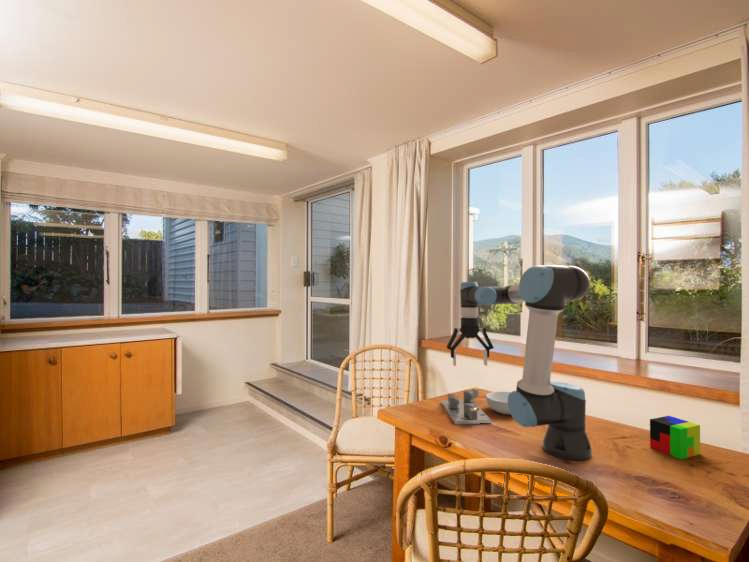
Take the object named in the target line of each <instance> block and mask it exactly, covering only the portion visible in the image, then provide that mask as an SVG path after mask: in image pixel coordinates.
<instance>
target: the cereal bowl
mask: <svg viewBox="0 0 749 562" xmlns="http://www.w3.org/2000/svg"><path fill="white" fill-rule="evenodd" d="M511 392H512V391H505V390H502V391H500V390H499V391H491V392H488V393H487V394H486V403H487V406H488V407H489V408H490V409H491V410H493V411H495V412H497V413H498V414H500V413H501V415H505V414H506V416H507V415H508V416H509V415H511V413H510V411H509V408H508V396H509V394H510V393H511ZM511 416H512V415H511Z"/></svg>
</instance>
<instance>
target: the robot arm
mask: <svg viewBox="0 0 749 562" xmlns="http://www.w3.org/2000/svg"><path fill="white" fill-rule="evenodd" d="M590 286H591V280H590V278H589V275H588V273H587V272H586V271H585V270H583V269H582V268H580V267H578V266H574V265H546V264H545V265H544V264H543V265H534V266H530V267H529V268H527V269H526V270H525V271H524V272H523V274H522V275H521V277H520V279H519V283H516V284H515V283H514V284H511V285H504V286H503V285H502V286H499V285H498V286H497V285H496V286H495V285H494V286H486V285H485V286H479V283H478V282H477V281H463V282H461V283H460V290H459V292H460V294H459V295H460V316H461V317H460V327H459V328H457V327H453V330H452V331H453V332H452V334H451V336H450V339H449V341H448V342H447V345H446V346H445V347H446V349H448V350H449V351H450V358H451V359H452V365H453V366H454V367H457V351H456V349H457V347H458V346H459V345H460V344H461V343H462V341H463V340H464V339H477V341H478V342H479V343H480V344H481V345H482V347H483V348H484V349H483V365H484V366H486V367H487V366H488V358H490V351H491V350H493V349H494V345H493V343H492V341H491V339H490V337H489V335H488V333H487V329H486V328H485V326H484V327H480V328H479V317H478V316H479V305H482V306H490V305H516V304H520V303H524V305H525V307H526V308H527V309H528V311H529V313H528V320H527V321H528V323H527V330H526V331H527V332H526V339H525V341H526V342H525V350H524V359H523V369H522V378H521V379H519V380H518V381H517V382H516V389H515V390H513V391H510V392H511V393H510V394H509V396H508V408H509V411H510V413H511V417H512V419H513V420H514V421H515V423H516V424H517V425H519V426H521V427H523V428H536V427H538V426H539V427H540V426H546V425H548V426H547V428H546V432H545V435H544V438H543V440H542V448H543V450H544V451H545V452H546V453H548V454H550V455H551V456H553V457H554V456H555V457H556V458H559V459H563V460H571V461H586V460H588V459H591V457H592V452H593V451H592V449H593V448H592V446H591V443H590V440H589V438H588V434H587V429H586V404H587V403H586V402H587V400H586V392H585V390H584V389H583V388H582V387H581V386H578V385H575V384H572V383H568V382H562V381H561V382H560V381H551V378H552V377H551V376H552V369H553V358H554V352H555V343H556V334H557V327H558V326H557V325H558V319H559V318H558V317H559V314H560V313H561V312H563V311H564V310H565V305H566V302H573V301H577V300H580V299H582V298H583V297H585V296H586V295H587V293H588V292H589V291H590V288H591V287H590ZM479 332H480V333H481V334H482V336H483V337H484V339H485V341H483V339H482V337H480V336H479ZM459 333H461V334H460V335H459V337H458V339H457V340H456V337H457V335H458V334H459ZM454 341H455V342H454ZM485 342H486V343H487V344H486V343H485Z"/></svg>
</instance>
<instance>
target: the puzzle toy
mask: <svg viewBox="0 0 749 562" xmlns="http://www.w3.org/2000/svg"><path fill="white" fill-rule="evenodd" d="M650 447H651V449H653V450H655V449H656V451H658V452H661V453H663V452H664V454H665V455H666V454H667V455H668V454H669V456H671V455H672V456H671V457H674V458H676V459H680V460H685V459H688V458H691V456H692V457H695V455H696V456H699V454H700V455H701V425H700V424H698V423H694V422H691V421H687V420H684V419H681V418H677V417H675V416H672V415H665V416H661V417H660V416H659V417H655V418H650V419H649V448H650Z"/></svg>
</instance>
